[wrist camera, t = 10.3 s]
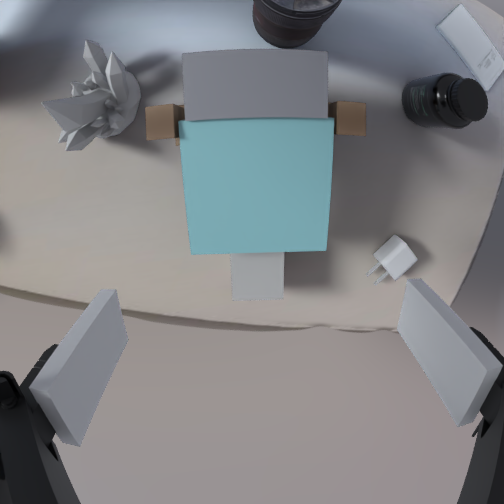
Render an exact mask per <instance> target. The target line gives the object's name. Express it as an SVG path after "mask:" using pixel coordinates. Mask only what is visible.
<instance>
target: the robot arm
mask: <svg viewBox="0 0 504 504" xmlns="http://www.w3.org/2000/svg"><path fill="white" fill-rule="evenodd" d="M397 330H398V332H399V333H400V335H401V336H402V338H403V339H404V341H405V342H406V344H407V345H408V347H409V348H410V350H411V351H412V353H413V355H414V356H415V358H416V359H417V361H418V362H419V364H420V366H421V367H422V369H423V370H424V372H425V374H426V375H427V377H428V378H429V380H430V382H431V383H432V385H433V387H434V388H435V390H436V391H437V393H438V395H439V396H440V398H441V400H442V401H443V403H444V405H445V407H446V408H447V410H448V412H449V413H450V415H451V417H452V418H453V420H454V422H455V424H456V426H457V427H460V426H463V425H466V424H468V423H471V422H473V421H474V419H475V417H476V416H477V414H478V412H479V411H480V412H481V413H482V415H483V418H482V420H481V421H480V423H479V425H478V426H477V428H476V430H475V431H474V433H473V435H472V437H474V436H475V435H476V433H477V432H478V434H477V438H476V443H475V447H474V451H473V455H472V458H471V462H470V465H469V469H468V472H467V476H466V479H465V482H464V485H463V488H462V491H461V494H460V497H459V499H458V502H457V504H504V357H503V356H502V355H501V354H500V353H499V351H497V349H496V348H494V347H493V345H492V344H491V343H490V342H488V339H487V338H486V337H485V336H484V335H483V334H482V333H481V332H479V331H478V330H476V329H474V328H473V327H468V326H467V325H466V324H465V323H464V322H463V321H462V320H461V318H460V317H459V316H458V315H457V314H456V313H455V312H454V311H453V310H452V309H451V308H450V307H449V306H448V305H447V304H446V303H445V302H444V301H443V300H442V299H441V298H440V297H439V296H438V295H437V294H436V293H435V292H434V291H433V290H432V289H431V288H430V287H429V286H428V285H427V284H426V283H425V282H424V281H423V280H422V279H421V278H420V279H407V284H406V289H405V295H404V300H403V305H402V309H401V314H400V319H399V323H398V327H397ZM127 342H128V336H127V332H126V329H125V325H124V321H123V317H122V313H121V309H120V304H119V300H118V296H117V291H116V289H101V290H100V292H99V293H98V294H97V295H96V297H95V298H94V299H93V300H92V302H91V303H90V304H89V306H88V307H87V308H86V309H85V311H84V312H83V313H82V315H81V316H80V317H79V318H78V320H77V321H76V322H75V324H74V325H73V327H72V328H71V329H70V330H69V332H68V333H67V335H66V336H65V337H64V338H63V340H62V341H61V343H60V344H59V345H57V344H54V345H53V346H51V347H50V348H49V349H47V350H46V351H45V352H44V353H43V354H42V356H41V357H40V359H39V361H37V363H36V364H35V365H34V368H32V370H31V371H30V372H29V374H28V375H27V377H26V378H25V379H24V381H23V382H22V384H21V385H20V387H19V385H18V384H17V382H16V380H15V378H14V376H13V374H12V373H10V372H7V371H0V504H81V503H80V501H79V499H78V497H77V495H76V493H75V491H74V488H73V486H72V484H71V482H70V480H69V477H68V475H67V473H66V470H65V468H64V466H63V463H62V461H61V458H60V455H59V453H58V450H57V447H56V445H55V444H54V442H53V441H52V439H53V437H54V435H55V433H56V434H57V435H58V437H59V438H60V439H61V441H62V442H63V443H66V444H71V445H75V446H79V447H80V445H81V443H82V440H83V438H84V436H85V433H86V431H87V429H88V426H89V424H90V422H91V419H92V417H93V414H94V412H95V410H96V408H97V406H98V403H99V401H100V399H101V397H102V394H103V392H104V390H105V388H106V386H107V383H108V381H109V379H110V377H111V375H112V373H113V371H114V369H115V367H116V364H117V362H118V360H119V358H120V356H121V354H122V352H123V350H124V348H125V346H126V344H127Z"/></svg>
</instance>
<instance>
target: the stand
mask: <svg viewBox="0 0 504 504" xmlns="http://www.w3.org/2000/svg"><path fill="white" fill-rule="evenodd" d="M145 117H146V138H147V141H148V140H157V139H167V138H175V139H176V146H178V145H180V138H179V124H178V121H180V120H185V109H184V105H175V104H167V105H158V106H150V107H145ZM328 117H332V118H334V134H339V135H357V136H366V103H359V102H347V101H337V102H333V103H330V102H328Z"/></svg>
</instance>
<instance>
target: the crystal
mask: <svg viewBox="0 0 504 504" xmlns="http://www.w3.org/2000/svg"><path fill="white" fill-rule="evenodd" d="M83 57H84V59H85V61H86V62H87V64H88V65H89V67H90V68H91V70H92V74H91V75H90V76H89V77H88V78H87V79H86V80H85V81H84V82H83V83H78V82H76V81H74V82H72V83H71V85H72V87H73V89H72V95H73V98H65V99H58V100H51V101H45V102H42V103H41V104H42V105H43V106H44V107H45V109H46V110H47V111H48V112H49V113H50V115H51V116H52V117H53V118H54V119H55V121H56V122H57V123H58V124H59V125H60V127H61V128H62V132H61V135H60V138H59V141H58V143H62V142H67V145H66V151H73V150H82V149H83V148H85V147H86V146H87V145H88V144H89V143H90V142H91V141H92V140H93V139H94V138H95V137H98V138H106V137H109V136H113V135H118V134H120V133H121V132H122V131H123V130H124V129H125V128H126V127H127V126H128V125H129V124H130V123H131V122H133V121H134V119H135V116H136V112H137V109H138V106H139V102H140V99H141V93H140V88H139V83H138V82H137V80H136V79H135V77H134V76H133V74H132V73H130V72H128V71H125V66H124V65H123V64H122V62H121V61H120V60H119V59H118V57H117V56H116V55H115V54H114V53H113V52H111V55H110V58H109V61H107V58H106V56H105V53H104V51H103V49H102V47H101V46H100V45H99V43H98V42H94V41H89V40H86V41H85V48H84V55H83Z"/></svg>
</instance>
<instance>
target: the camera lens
mask: <svg viewBox="0 0 504 504" xmlns="http://www.w3.org/2000/svg"><path fill="white" fill-rule="evenodd" d="M253 1H254V5H253V21H254V25H255V28H256V30H257V32H258V33H259V35H260V36H261V37H262V38H263V39H264V40H265V41H266V42H268V43H269V44H271V45H273V46H276V47H279V48H293V47H297V46H300V45H303V44H305V43H306V42H308V41H309V40H310V39H311V38H312V37H314V36H315V34H316V33H317V32H318V31H319V29H320V28H321V26H322V24H323V23H324V22H325V21H326V20H327V19H328V18H329V17H330V16H331V15H332V13H333V12H334V11H335V9H336V8H337V7H338V6H339V4H340V3H341V1H342V0H253Z"/></svg>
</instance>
